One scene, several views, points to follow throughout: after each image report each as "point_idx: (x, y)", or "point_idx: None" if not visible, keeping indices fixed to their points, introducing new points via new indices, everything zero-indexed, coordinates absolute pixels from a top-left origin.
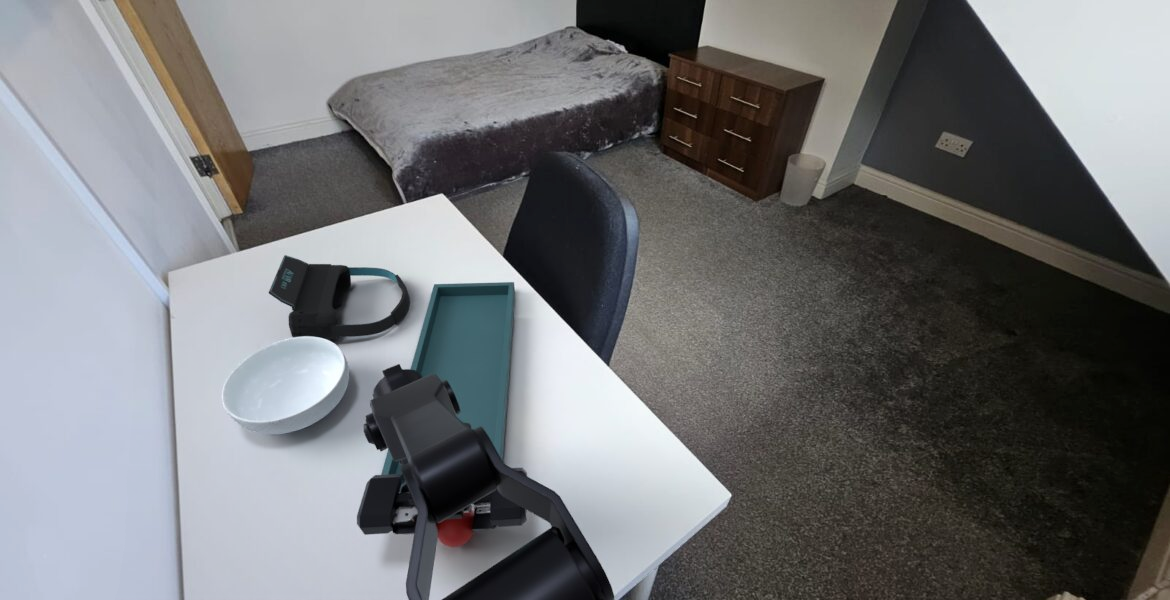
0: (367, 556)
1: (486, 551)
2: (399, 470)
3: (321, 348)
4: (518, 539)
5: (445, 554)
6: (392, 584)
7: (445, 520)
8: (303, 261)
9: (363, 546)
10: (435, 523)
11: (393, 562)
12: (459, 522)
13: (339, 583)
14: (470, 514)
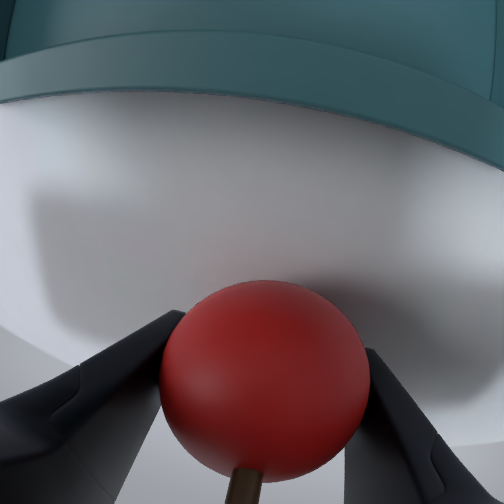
0: (21, 291)
1: None
2: (18, 18)
3: None
4: (462, 371)
5: None
6: None
7: (205, 462)
8: None
9: (4, 263)
10: (157, 377)
11: (78, 329)
12: (284, 480)
13: (7, 322)
14: (352, 432)
